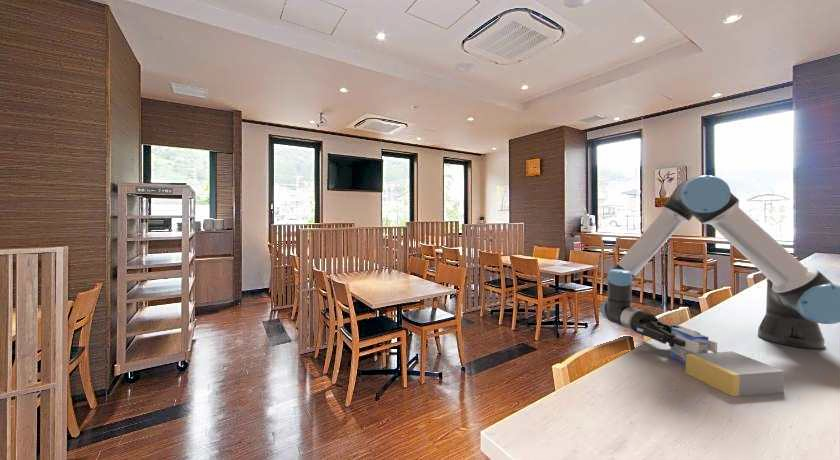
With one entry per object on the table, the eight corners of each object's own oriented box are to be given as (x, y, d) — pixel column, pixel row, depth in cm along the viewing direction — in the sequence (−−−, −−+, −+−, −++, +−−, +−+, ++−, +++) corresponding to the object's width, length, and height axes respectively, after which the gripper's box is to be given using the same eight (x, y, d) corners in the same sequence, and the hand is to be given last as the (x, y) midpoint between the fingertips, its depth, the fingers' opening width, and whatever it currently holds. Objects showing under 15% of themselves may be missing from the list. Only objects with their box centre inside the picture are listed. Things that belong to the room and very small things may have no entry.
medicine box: (669, 356, 102) (670, 327, 102) (683, 356, 103) (684, 327, 102) (692, 368, 94) (693, 336, 94) (708, 367, 95) (709, 336, 94)
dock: (731, 369, 94) (731, 351, 93) (783, 392, 82) (784, 371, 82) (685, 372, 92) (686, 354, 91) (732, 396, 80) (733, 375, 79)
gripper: (663, 331, 118) (735, 359, 95) (614, 334, 115) (676, 363, 92) (663, 309, 117) (736, 332, 94) (615, 311, 115) (677, 335, 92)
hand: (706, 348), depth 93 cm, fingers open, 5 cm apart
